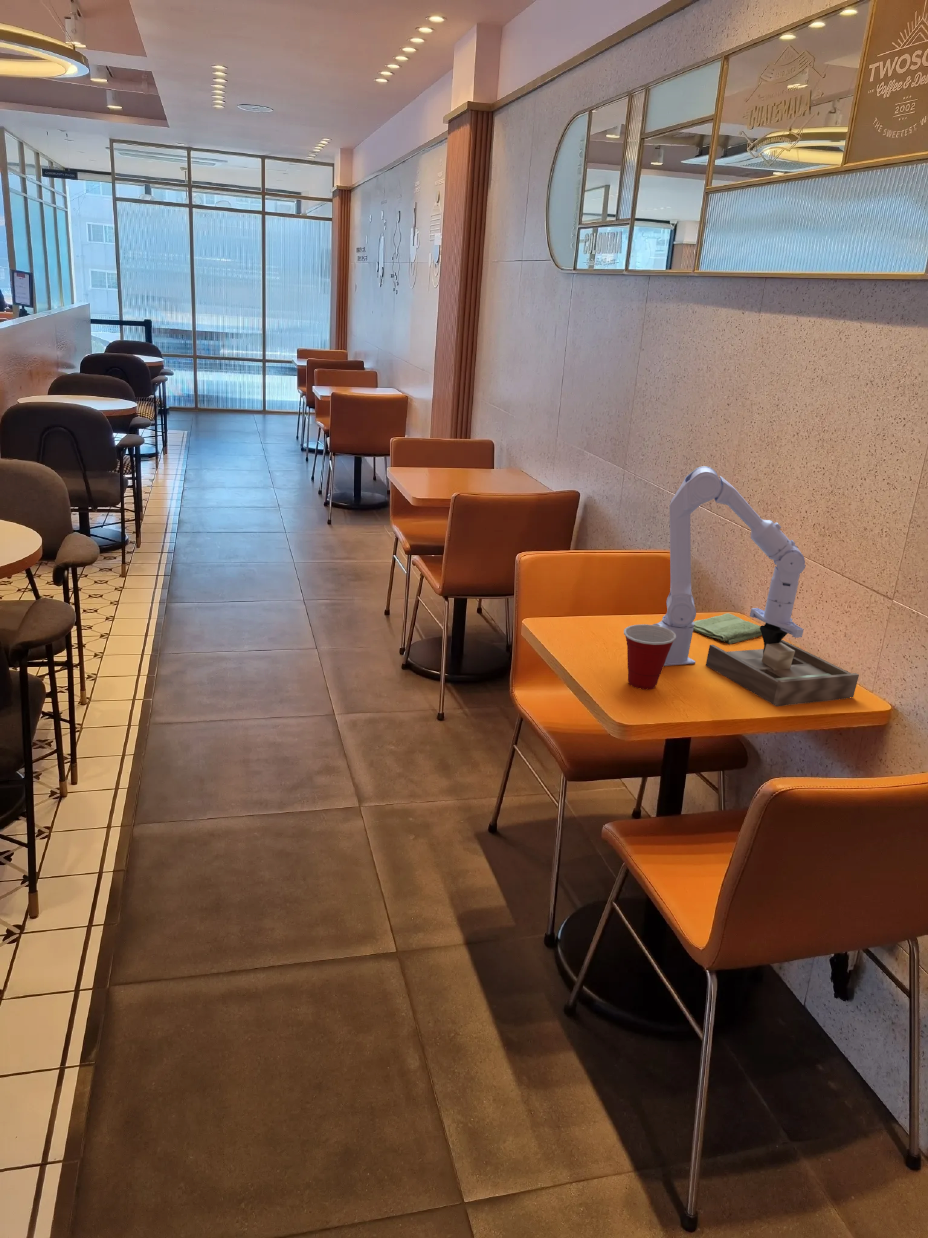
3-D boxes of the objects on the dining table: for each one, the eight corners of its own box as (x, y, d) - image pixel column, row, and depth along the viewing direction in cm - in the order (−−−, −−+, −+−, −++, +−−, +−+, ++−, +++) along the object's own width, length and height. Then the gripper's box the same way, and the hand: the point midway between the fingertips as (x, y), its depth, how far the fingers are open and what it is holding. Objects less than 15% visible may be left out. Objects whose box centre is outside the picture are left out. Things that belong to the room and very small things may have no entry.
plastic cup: (605, 676, 193) (614, 623, 189) (648, 673, 197) (657, 622, 194) (632, 696, 184) (642, 641, 180) (676, 693, 188) (687, 639, 184)
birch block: (774, 670, 199) (780, 652, 197) (761, 661, 203) (766, 643, 201) (789, 668, 201) (795, 651, 199) (776, 660, 204) (781, 642, 203)
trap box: (776, 706, 187) (782, 682, 185) (705, 665, 206) (710, 642, 204) (853, 698, 196) (859, 674, 194) (778, 659, 215) (783, 637, 214)
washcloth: (684, 630, 231) (686, 618, 230) (726, 622, 242) (728, 610, 241) (726, 647, 222) (728, 635, 221) (767, 637, 232) (770, 626, 231)
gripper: (818, 609, 195) (805, 667, 199) (771, 589, 207) (759, 644, 211) (794, 610, 192) (781, 669, 196) (747, 590, 204) (736, 646, 208)
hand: (768, 656), depth 203 cm, fingers closed, pressing on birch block
